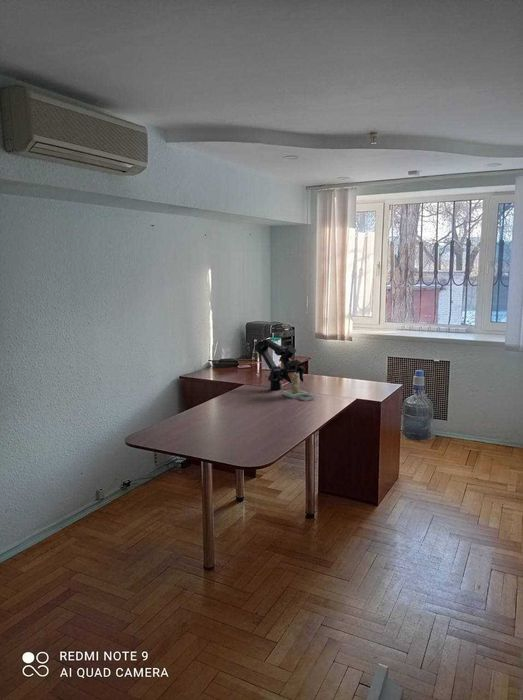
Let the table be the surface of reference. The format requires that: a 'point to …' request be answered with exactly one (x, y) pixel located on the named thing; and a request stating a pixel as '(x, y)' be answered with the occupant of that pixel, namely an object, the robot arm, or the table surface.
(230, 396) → the table surface
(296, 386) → the dowel
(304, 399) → the dowel holder
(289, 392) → the tray
